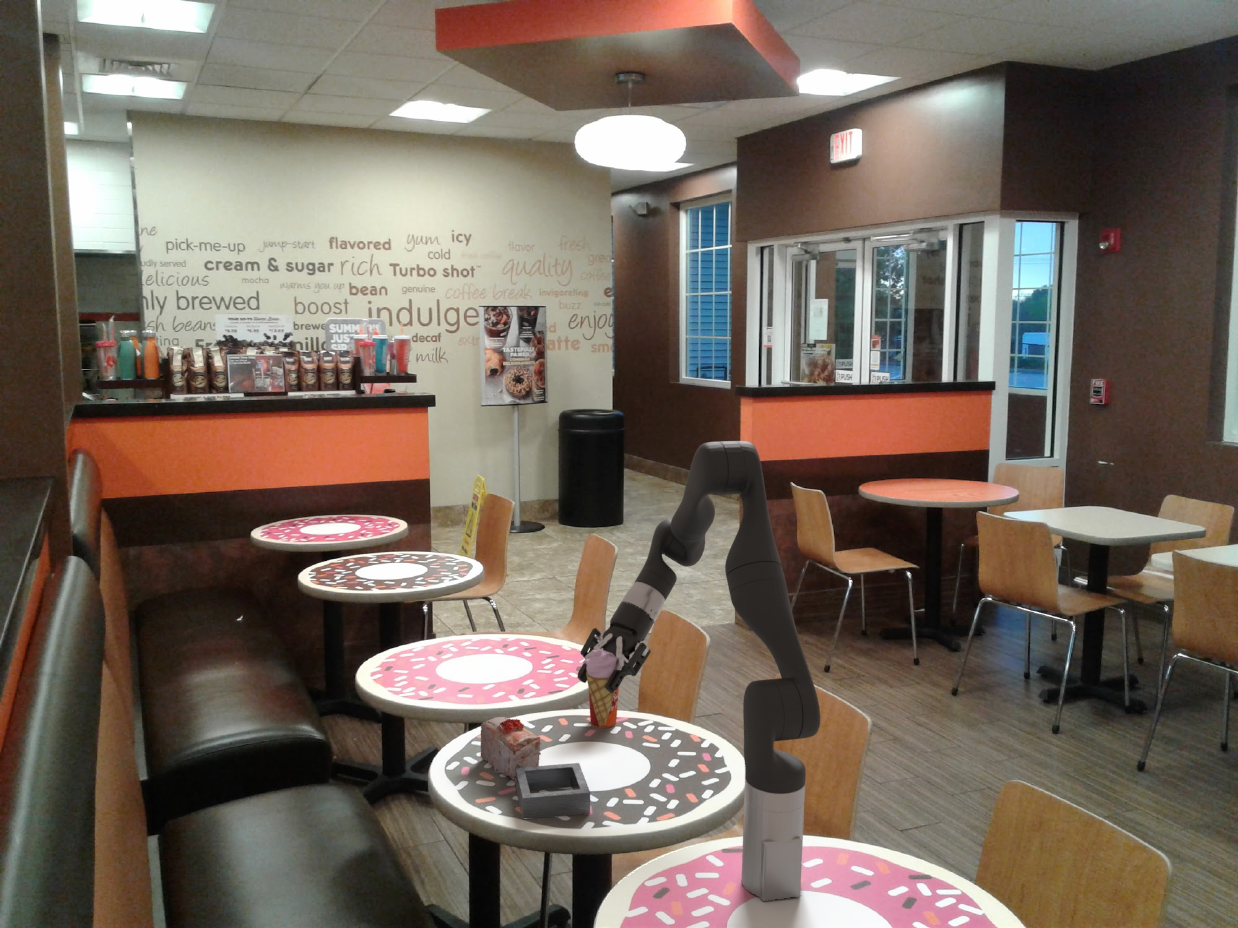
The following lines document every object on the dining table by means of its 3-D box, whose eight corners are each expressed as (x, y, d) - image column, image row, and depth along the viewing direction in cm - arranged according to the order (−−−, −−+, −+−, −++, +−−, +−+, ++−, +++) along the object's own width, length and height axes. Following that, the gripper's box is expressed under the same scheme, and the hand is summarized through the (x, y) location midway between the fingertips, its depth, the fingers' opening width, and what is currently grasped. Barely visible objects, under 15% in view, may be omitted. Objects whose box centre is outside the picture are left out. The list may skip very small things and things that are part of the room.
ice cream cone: (577, 726, 186) (577, 649, 184) (591, 714, 191) (591, 639, 189) (610, 732, 183) (610, 653, 181) (623, 720, 189) (623, 643, 187)
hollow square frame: (590, 813, 178) (590, 792, 177) (522, 819, 175) (522, 798, 175) (578, 782, 189) (579, 762, 189) (515, 787, 187) (515, 767, 186)
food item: (546, 774, 192) (546, 726, 191) (512, 787, 187) (512, 737, 186) (507, 751, 203) (507, 704, 201) (473, 761, 198) (473, 714, 196)
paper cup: (617, 731, 213) (617, 668, 211) (582, 727, 214) (582, 665, 212) (624, 716, 220) (625, 656, 218) (590, 713, 222) (590, 653, 220)
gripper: (601, 593, 194) (557, 665, 188) (656, 608, 185) (612, 685, 178) (620, 614, 199) (578, 685, 192) (675, 629, 189) (632, 705, 182)
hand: (594, 685), depth 185 cm, fingers closed on ice cream cone, 6 cm apart
